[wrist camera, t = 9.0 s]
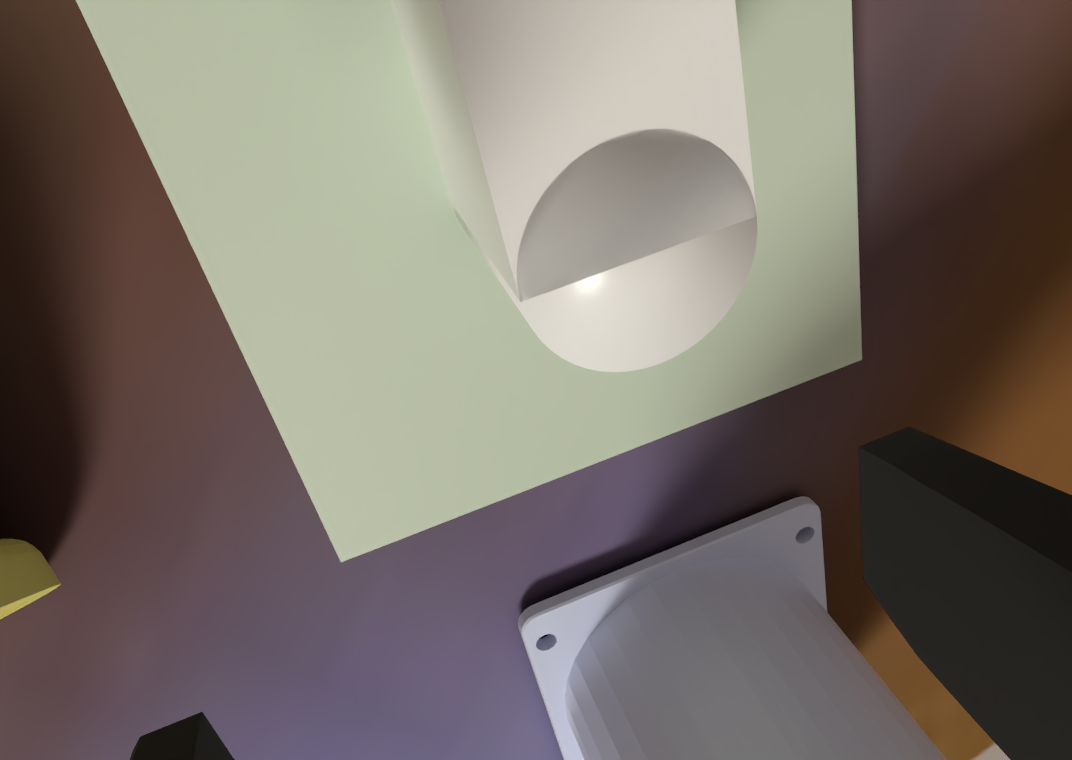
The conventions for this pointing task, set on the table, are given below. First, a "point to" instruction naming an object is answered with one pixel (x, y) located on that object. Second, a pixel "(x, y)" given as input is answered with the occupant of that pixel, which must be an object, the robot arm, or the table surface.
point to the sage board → (456, 253)
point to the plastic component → (22, 575)
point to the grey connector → (595, 162)
